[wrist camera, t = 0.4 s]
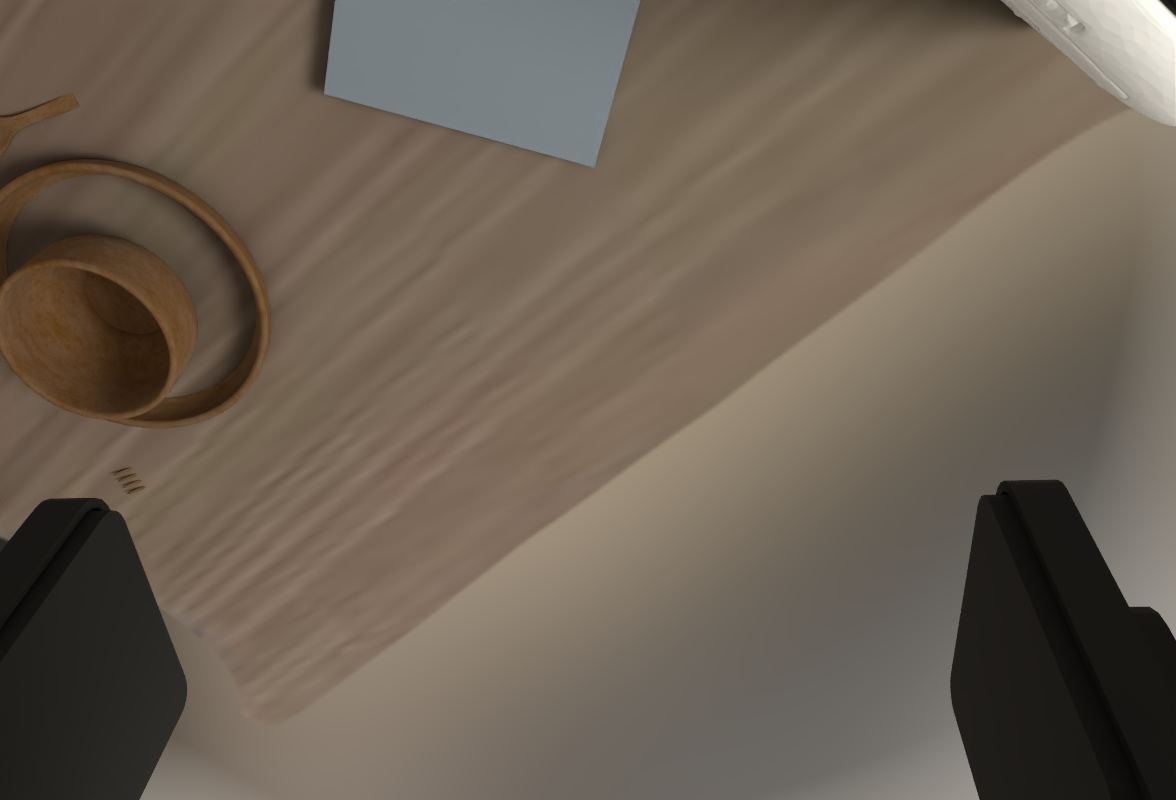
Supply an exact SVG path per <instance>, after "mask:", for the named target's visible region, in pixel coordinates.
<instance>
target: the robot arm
mask: <svg viewBox="0 0 1176 800" xmlns="http://www.w3.org/2000/svg"><path fill="white" fill-rule="evenodd" d="M950 682H951V686H950V688H951V699H952V706H953V710H954V713H955V717H956V721H957V724H958V727H959V731H960V734H961V738H962V741H963V744H964V748H965V751H966V755H967V758H968V762H969V765H970V768H971V771H972V775H973V778H974V782H975V785H976V789H977V792H978V796H979V799H980V800H1176V640H1175V638H1174V636H1173V635H1172V633H1171V631H1170V629H1169V627H1168V626H1167V624H1166V623H1165V621H1164V620H1163V618H1162V617H1161V616H1160V614H1159V613H1158V612H1156V611H1155V610H1153V609H1152V608H1150V607H1129V606H1128V604H1127V602H1126V600H1125V598H1124V597H1123V595H1122V593H1121V591H1120V589H1119V587H1118V585H1117V583H1116V581H1115V579H1114V578H1113V576H1112V574H1111V572H1110V570H1109V568H1108V566H1107V564H1106V563H1105V560H1104V559H1103V557H1102V555H1101V553H1100V551H1099V549H1098V547H1097V545H1096V543H1095V541H1094V540H1093V538H1092V536H1091V534H1090V532H1089V530H1088V528H1087V526H1086V525H1085V522H1084V521H1083V519H1082V517H1081V515H1080V513H1079V511H1078V509H1077V507H1076V506H1075V503H1074V502H1073V500H1072V498H1071V496H1070V494H1069V492H1068V490H1067V488H1066V487H1065V485H1064V484H1063V483H1062V482H1061V481H1059V480H1020V481H1003V482H1001V483H1000V485H999V487H998V488H997V492H996V495H983V496H981V498H980V500H979V503H978V508H977V514H976V520H975V527H974V533H973V539H972V546H971V552H970V559H969V564H968V570H967V577H966V583H965V589H964V596H963V602H962V608H961V614H960V620H959V627H958V633H957V639H956V646H955V652H954V658H953V664H952V671H951V680H950ZM186 697H187V682H186V679H185V675H184V672H183V669H182V667H181V664H180V662H179V659H178V657H177V654H176V652H175V649H174V646H173V644H172V641H171V639H170V636H169V633H168V631H167V628H166V626H165V623H164V621H163V618H162V615H161V613H160V610H159V608H158V605H157V602H156V600H155V597H154V595H153V592H152V590H151V587H150V584H149V582H148V579H147V577H146V574H145V571H144V569H143V566H142V564H141V561H140V559H139V556H138V553H137V551H136V548H135V546H134V543H133V541H132V538H131V535H130V533H129V530H128V528H127V525H126V523H125V520H124V518H123V517H122V515H121V514H120V513H119V512H117V511H111V510H110V509H109V507H108V505H107V504H106V503H105V502H104V501H103V500H102V499H98V498H66V499H48V500H45V501H42V502H41V503H40V504H39V505H38V506H37V507H36V508H35V509H34V511H33V512H32V513H31V514H30V515H29V517H28V518H27V519H26V520H25V522H24V523H23V524H22V525H21V527H20V528H19V529H18V530H17V532H16V533H15V534H14V535H13V537H12V538H11V539H10V540H9V542H8V543H7V544H6V545H5V547H4V548H3V549H2V550H1V552H0V800H139V799H140V797H141V795H142V793H143V791H144V789H145V787H146V785H147V783H148V781H149V779H150V777H151V775H152V773H153V771H154V769H155V767H156V765H157V762H158V761H159V758H160V757H161V754H162V752H163V750H164V748H165V746H166V744H167V742H168V740H169V738H170V736H171V734H172V732H173V730H174V728H175V726H176V724H177V722H178V720H179V718H180V716H181V714H182V711H183V709H184V706H185V702H186Z"/></svg>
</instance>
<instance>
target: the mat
mask: <svg viewBox="0 0 1176 800" xmlns="http://www.w3.org/2000/svg"><path fill="white" fill-rule="evenodd" d="M639 4H640V0H335V6H334V14H333V22H332V31H331V39H330V47H329V55H328V64H327V72H326V80H325V89H324V94H326V95H330V96H334V97H337V98H341V99H345V100H348V101H352V102H356V103H359V104H363V105H367V106H370V107H374V108H378V109H381V110H385V111H389V112H392V113H396V114H400V115H403V116H407V117H411V118H415V119H418V120H422V121H426V122H429V123H433V124H437V125H440V126H444V127H448V128H451V129H455V130H459V131H462V132H466V133H470V134H473V135H477V136H481V137H484V138H488V139H492V140H495V141H499V142H503V143H506V144H510V145H514V146H517V147H521V148H525V149H528V150H532V151H536V152H539V153H543V154H547V155H550V156H554V157H558V158H561V159H565V160H569V161H572V162H576V163H580V164H583V165H587V166H591V167H595V163H596V160H597V156H598V153H599V149H600V145H601V142H602V138H603V134H604V131H605V127H606V123H607V120H608V116H609V113H610V109H611V105H612V102H613V98H614V94H615V91H616V87H617V84H618V80H619V76H620V73H621V69H622V65H623V62H624V58H625V54H626V51H627V47H628V44H629V40H630V36H631V33H632V29H633V25H634V22H635V18H636V14H637V11H638V7H639Z"/></svg>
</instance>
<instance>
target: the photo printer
mask: <svg viewBox="0 0 1176 800" xmlns="http://www.w3.org/2000/svg"><path fill="white" fill-rule="evenodd" d="M1001 1H1002V2H1003V3H1005V4H1006V5H1007V6H1008V7H1009V8H1010V9H1011V10H1013V12H1014V14H1015V15H1016V16H1018V17H1020V18H1022V19H1023V20H1024V21H1026V22H1027V23H1028V24H1029V25H1031V26H1032V27H1033V28H1034V29H1035V30H1037V31H1038V32H1039V33H1040V34H1041V35H1043V36H1044V37H1045V38H1046V39H1047V40H1049V41H1050V42H1051V43H1052V44H1053V45H1054V46H1056V47H1057V48H1058V49H1059V50H1060V51H1062V52H1063V53H1064V54H1065V55H1066V56H1067V57H1069V58H1070V59H1071V60H1072V61H1073V62H1074V63H1075V64H1076V65H1078V66H1079V67H1080V68H1081V69H1082V70H1083V71H1084V72H1085V73H1086V74H1087V75H1089V76H1090V77H1091V78H1092V79H1093V80H1094V81H1095V82H1096V84H1097V85H1098V86H1100V87H1101V88H1103V89H1105V90H1106V91H1108V92H1109V93H1110V94H1112V95H1114V96H1116V97H1117V98H1118V99H1119V100H1121V101H1122V102H1123V103H1125V104H1126V105H1128V106H1129V107H1131V108H1132V109H1134V110H1136V111H1137V112H1139V113H1140V114H1142V115H1144V116H1147V117H1149V118H1151V119H1153V120H1155V121H1157V122H1160V123H1163V124H1166V125H1171V126H1176V0H1001Z"/></svg>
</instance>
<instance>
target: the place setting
mask: <svg viewBox="0 0 1176 800" xmlns="http://www.w3.org/2000/svg"><path fill="white" fill-rule="evenodd" d="M78 106H79V103H78V101H77V99H76V98H75V96H74V95H73V94H67V95H64V96H61V97H59V98H57V99H54V100H52V101H50V102H48V103H45V104H43V105H41V106H39V107H36V108H34V109H31V110H29V111H26V112H24V113H21V114H18V115H14V116H9V117H2V116H0V155H1V154H2V153H3V152H4V151H5V150H6V148H7V147H8V145H9V144H10V142H11V140H12V138H13V136H14V135H15V134H16V133H17V132H18V131H19V130H21V129H23V128H25V127H27V126H29V125H32V124H34V123H36V122H39V121H42V120H44V119H47V118H50V117H53V116H56V115H59V114H62V113H64V112H67V111H70V110H73V109H75V108H77V107H78ZM90 174H106V175H114V176H118V177H122V178H126V179H130V180H133V181H135V182H138V183H141V184H143V185H146V186H149V187H151V188H153V189H155V190H157V191H159V192H161V193H163V194H165V195H167V196H169V197H171V198H172V199H174V200H175V201H177V202H178V203H180V204H182V205H183V206H185V207H186V208H188V209H189V210H190V211H191V212H193V213H194V214H195V215H196V216H198V217H199V218H200V219H201V220H203V221H204V222H205V223H206V224H207V225H208V226H209V227H210V228H211V229H212V230H213V231H214V232H215V233H216V234H217V235H218V236H219V237H220V238H221V240H222V241H223V242H224V243H225V244H226V246H227V247H228V248H229V249H230V250H231V252H232V253H233V255H234V257H235V258H236V260H237V261H238V263H239V264H240V266H241V267H242V269H243V271H244V273H245V275H246V277H247V279H248V281H249V283H250V286H251V289H252V292H253V295H254V299H255V307H256V323H255V332H254V336H253V340H252V343H251V346H250V348H249V350H248V353H247V355H246V356H245V358H244V359H243V361H242V362H241V364H240V365H239V366H238V368H237V369H236V370H235V371H234V372H233V373H232V374H231V375H230V376H228V377H227V378H226V379H225V380H223V381H222V382H221V383H219V384H217V385H215V386H213V387H212V388H210V389H207V390H205V391H202V392H199V393H196V394H192V395H187V396H183V397H172V398H165V397H166V395H167V394H168V393H169V391H170V390H171V389H172V387H173V386H174V385H175V383H176V382H177V381H178V379H179V378H180V376H181V375H182V373H183V372H184V370H185V368H186V367H187V365H188V363H189V362H190V359H191V357H192V355H193V352H194V349H195V346H196V341H197V332H198V324H197V315H196V311H195V307H194V304H193V301H192V299H191V296H190V294H189V293H188V291H187V289H186V287H185V285H184V284H183V283H182V281H181V280H180V278H179V277H178V276H177V275H176V273H175V272H174V271H173V270H172V269H171V268H170V267H169V266H168V265H167V264H166V263H165V262H164V261H162V260H161V259H160V258H159V257H157V256H156V255H155V254H153V253H151V252H150V251H148V250H146V249H145V248H143V247H141V246H139V245H137V244H135V243H132V242H129V241H126V240H124V239H120V238H116V237H112V236H105V235H81V236H74V237H71V238H67V239H63V240H61V241H58V242H56V243H54V244H52V245H50V246H48V247H46V248H45V249H43V250H42V251H40V252H39V253H37V254H36V255H34V256H33V257H32V258H31V259H29V260H28V261H27V262H26V263H25V264H23V265H22V266H21V267H20V268H19V269H17V270H16V271H15V272H14V273H13V274H12V275H11V276H10V277H8V272H7V261H6V251H7V241H8V237H9V233H10V230H11V227H12V225H13V222H14V220H15V218H16V216H17V214H18V213H19V212H20V210H21V209H22V207H23V206H24V205H25V204H26V203H27V202H28V201H29V200H30V199H31V198H32V197H33V196H34V195H35V194H36V193H38V192H39V191H41V190H42V189H44V188H45V187H47V186H49V185H51V184H53V183H56V182H58V181H60V180H64V179H67V178H71V177H74V176H82V175H90ZM270 331H271V316H270V305H269V300H268V295H267V291H266V288H265V285H264V282H263V279H262V276H261V273H260V271H259V269H258V267H257V265H256V263H255V261H254V259H253V257H252V255H251V253H250V252H249V250H248V249H247V247H246V246H245V244H244V243H243V241H242V239H241V238H240V237H239V236H238V235H237V233H236V232H235V231H234V230H233V228H232V227H231V226H230V225H229V224H228V223H227V222H226V221H225V220H224V219H223V218H222V217H221V216H220V215H219V214H218V213H217V212H216V211H215V210H214V209H213V208H212V207H211V206H209V205H208V204H207V203H206V202H204V201H203V200H202V199H201V198H199V197H198V196H197V195H195V194H194V193H192V192H190V191H189V190H187V189H186V188H184V187H183V186H181V185H180V184H178V183H176V182H174V181H172V180H170V179H168V178H166V177H164V176H162V175H159V174H157V173H154V172H151V171H149V170H146V169H143V168H141V167H137V166H133V165H129V164H125V163H121V162H115V161H108V160H100V159H76V160H68V161H61V162H56V163H52V164H48V165H45V166H41V167H38V168H36V169H34V170H32V171H29V172H27V173H25V174H23V175H21V176H19V177H17V178H16V179H15V180H13V181H12V182H10V183H9V184H7V185H6V186H4V187H3V188H2V189H1V190H0V350H1V352H2V354H3V356H4V358H5V360H6V361H7V363H8V364H9V366H10V367H11V368H12V370H13V371H14V372H15V373H16V374H17V376H18V377H19V378H20V379H21V380H22V381H23V382H24V383H25V384H26V385H27V386H28V387H30V388H31V389H32V390H33V391H34V392H36V393H37V394H38V395H40V396H41V397H43V398H44V399H46V400H47V401H49V402H51V403H53V404H54V405H56V406H58V407H60V408H63V409H65V410H67V411H69V412H72V413H75V414H78V415H82V416H86V417H90V418H96V419H105V420H108V421H111V422H115V423H119V424H123V425H128V426H135V427H142V428H174V427H182V426H187V425H192V424H196V423H199V422H202V421H205V420H207V419H210V418H213V417H214V416H216V415H218V414H220V413H222V412H224V411H226V410H227V409H228V408H229V407H231V406H232V405H233V404H235V403H236V402H237V401H238V400H239V399H240V398H241V397H242V396H243V395H244V394H245V393H246V392H247V391H248V389H249V388H250V387H251V385H252V384H253V382H254V381H255V379H256V378H257V376H258V374H259V372H260V369H261V367H262V365H263V363H264V360H265V357H266V354H267V350H268V346H269V341H270ZM132 469H133V468H131V467H130V468H126V469H124V470H122V471H120V472H118V473H116V474H114V476H115V475H119V474H122V473H124V472H127V471H130V470H132ZM135 476H137V474H131V475H129V476H127V477H125V478H123V479H121V480H119V481H118V482H121V481H124V480H127V479H130V478H132V477H135ZM140 482H141V480H136V481H134V482H132V483H130V484H128V485H126V486H124V487H123V488H126V487H129V486H132V485H135V484H137V483H140ZM144 488H146V487H145V486H141V487H138V488H136V489H134V490H132V491H130V492H129V493H127V494H130V493H134V492H137V491H139V490H142V489H144ZM0 500H1V494H0Z"/></svg>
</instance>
